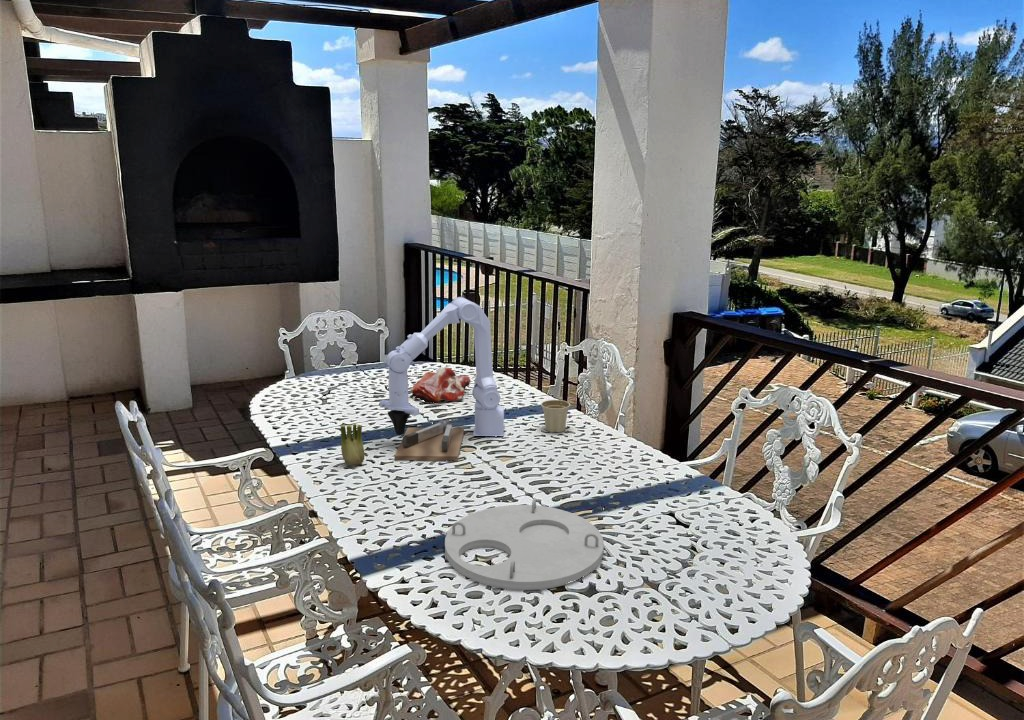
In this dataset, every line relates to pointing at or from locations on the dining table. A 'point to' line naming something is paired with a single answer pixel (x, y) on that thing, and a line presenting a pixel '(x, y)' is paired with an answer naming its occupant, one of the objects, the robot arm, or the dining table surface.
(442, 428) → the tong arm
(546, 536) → the slab
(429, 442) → the walnut board
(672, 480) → the dining table surface
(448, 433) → the fixed tong arm
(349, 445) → the fennel bulb
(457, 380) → the meat
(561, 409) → the flower pot
